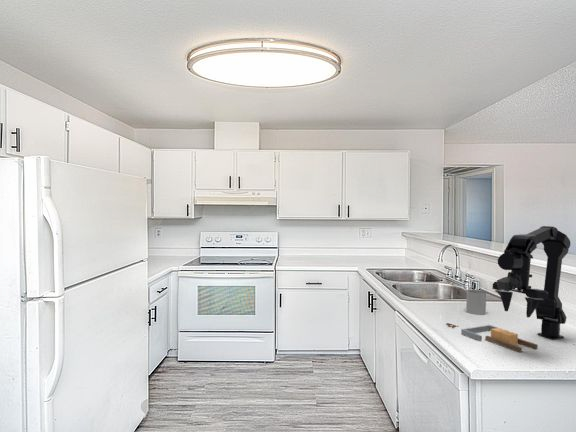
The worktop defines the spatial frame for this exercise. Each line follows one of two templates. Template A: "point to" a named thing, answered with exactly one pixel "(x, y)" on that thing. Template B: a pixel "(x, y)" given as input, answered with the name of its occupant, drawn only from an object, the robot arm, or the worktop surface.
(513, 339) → the block
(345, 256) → the worktop surface
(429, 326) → the worktop surface
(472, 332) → the tray
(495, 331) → the block
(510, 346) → the slot guide
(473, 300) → the cup
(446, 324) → the hand saw
